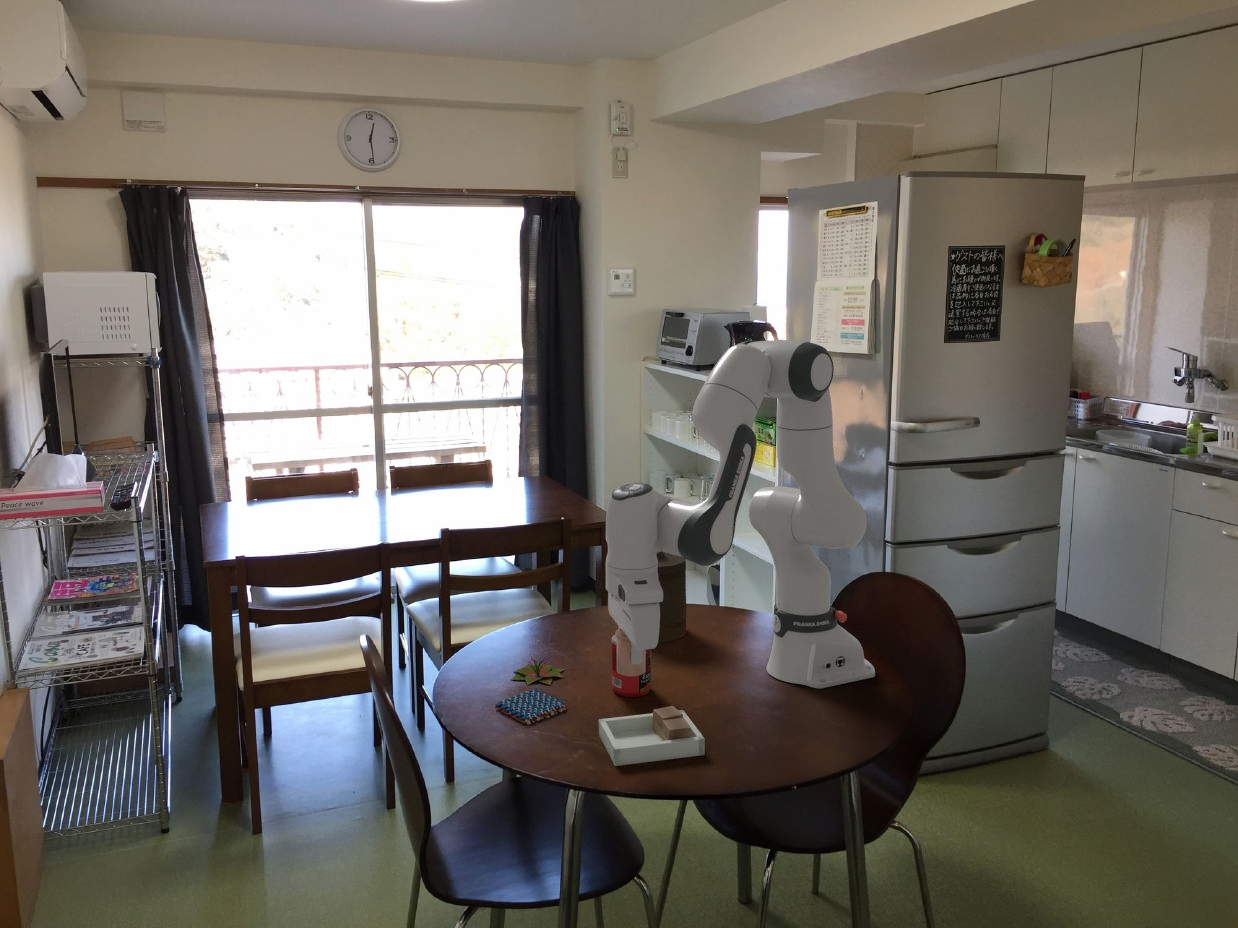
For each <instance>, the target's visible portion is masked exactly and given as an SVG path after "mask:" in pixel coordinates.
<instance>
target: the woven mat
mask: <svg viewBox="0 0 1238 928" xmlns="http://www.w3.org/2000/svg"><path fill="white" fill-rule="evenodd" d="M494 707H495V709H496V710H497V711H498V712H502V713H503V714H506V715H507V716H509V717H512V718H513V719H516V720H517V721H520V722H521V723H522V724H524V725H531V724H532V723H535V722H536V721H537V722H540V720H543V719H545V718H546V719H548V718H551V716H554V715H555V714H558V712H559V713H562V712H564V711H566V710H567V707H568V704H566V703H565V702H563V700H558V698H557V697H556V698H555V697H553V696H552V695H548V694H547V693H546V692H545V693H544V692H542V690H538V689H537V688H536V687H535V688H534V689H530V690H528V691H525V692H521V693H519V694H517V695H513V696H511V697H508V698H505V699H502V700H499V701H498V702H497V703H496V704H495V705H494ZM544 717H545V718H544Z"/></svg>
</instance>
